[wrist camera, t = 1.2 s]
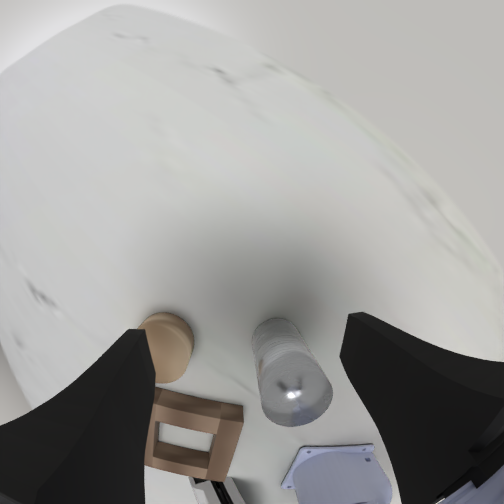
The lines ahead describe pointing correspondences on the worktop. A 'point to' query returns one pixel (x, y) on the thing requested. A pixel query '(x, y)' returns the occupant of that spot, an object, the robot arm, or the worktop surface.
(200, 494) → the hinge
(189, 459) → the socket block
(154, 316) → the oak stub
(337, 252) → the worktop surface
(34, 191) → the worktop surface
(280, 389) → the tall pin
